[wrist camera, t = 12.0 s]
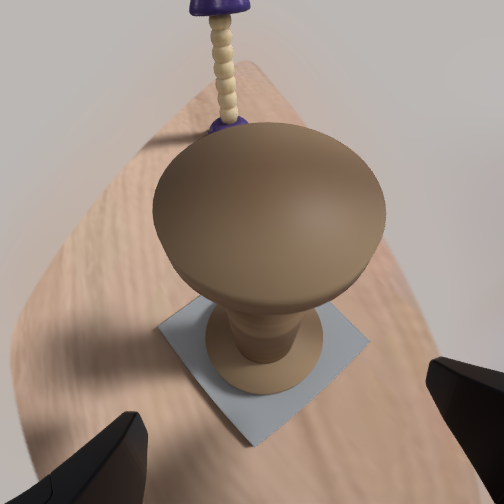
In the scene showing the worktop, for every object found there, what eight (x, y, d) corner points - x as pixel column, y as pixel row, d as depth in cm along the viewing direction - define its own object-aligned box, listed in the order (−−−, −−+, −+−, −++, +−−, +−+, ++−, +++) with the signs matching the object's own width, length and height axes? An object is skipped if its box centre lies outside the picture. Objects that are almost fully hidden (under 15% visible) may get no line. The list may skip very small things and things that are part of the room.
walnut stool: (333, 376, 15) (457, 278, 5) (220, 406, 15) (133, 366, 4) (300, 279, 19) (338, 104, 8) (199, 302, 18) (132, 136, 8)
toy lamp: (195, 138, 27) (171, -28, 13) (223, 116, 30) (213, -34, 15) (235, 153, 26) (225, -33, 12) (262, 129, 28) (263, -35, 14)
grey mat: (367, 343, 17) (370, 341, 16) (254, 446, 14) (254, 447, 13) (270, 248, 21) (270, 244, 20) (159, 329, 18) (157, 326, 17)
